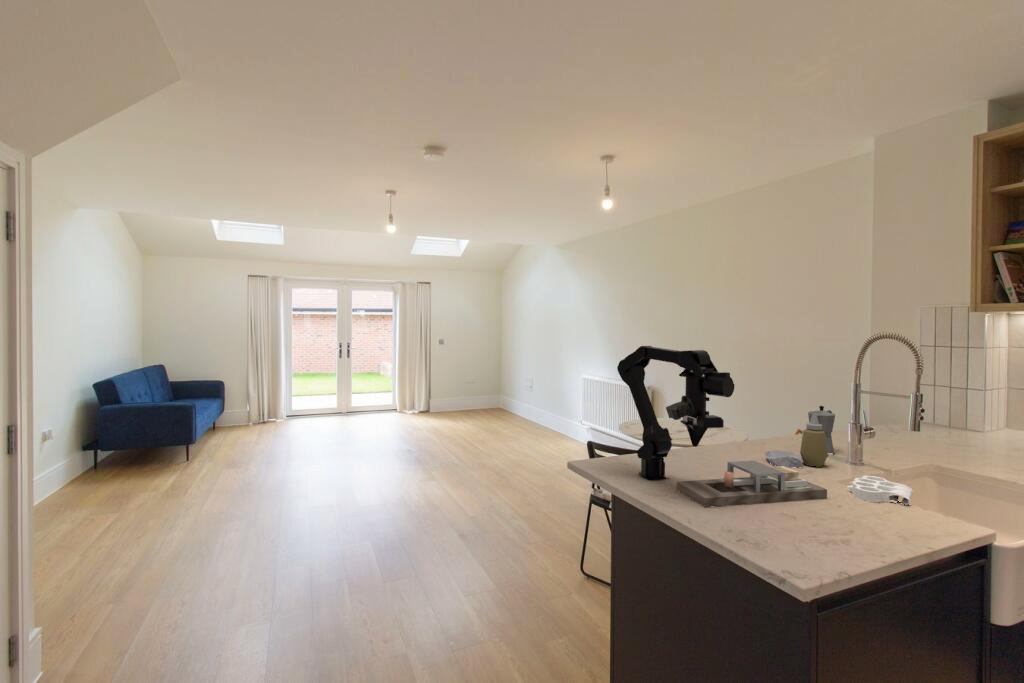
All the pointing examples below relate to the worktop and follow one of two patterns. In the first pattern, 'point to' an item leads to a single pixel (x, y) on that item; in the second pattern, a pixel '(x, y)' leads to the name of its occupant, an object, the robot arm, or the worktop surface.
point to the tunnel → (758, 473)
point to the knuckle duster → (879, 490)
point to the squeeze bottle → (813, 444)
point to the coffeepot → (825, 425)
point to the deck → (745, 492)
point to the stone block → (784, 458)
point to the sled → (731, 482)
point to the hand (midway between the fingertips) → (694, 446)
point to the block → (787, 474)
